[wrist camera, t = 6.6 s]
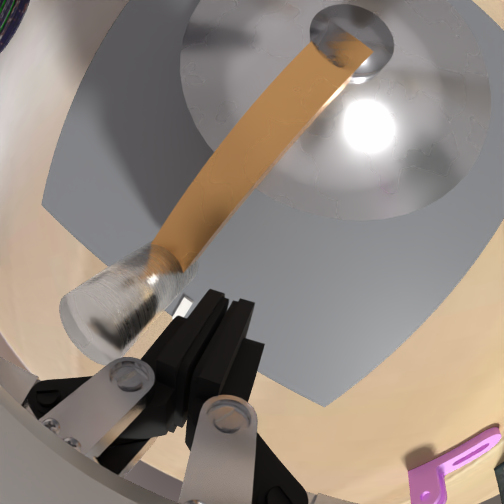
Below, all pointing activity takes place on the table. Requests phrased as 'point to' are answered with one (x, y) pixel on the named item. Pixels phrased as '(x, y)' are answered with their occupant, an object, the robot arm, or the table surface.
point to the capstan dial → (300, 134)
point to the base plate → (266, 213)
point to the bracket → (447, 468)
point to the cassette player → (500, 479)
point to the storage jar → (10, 19)
